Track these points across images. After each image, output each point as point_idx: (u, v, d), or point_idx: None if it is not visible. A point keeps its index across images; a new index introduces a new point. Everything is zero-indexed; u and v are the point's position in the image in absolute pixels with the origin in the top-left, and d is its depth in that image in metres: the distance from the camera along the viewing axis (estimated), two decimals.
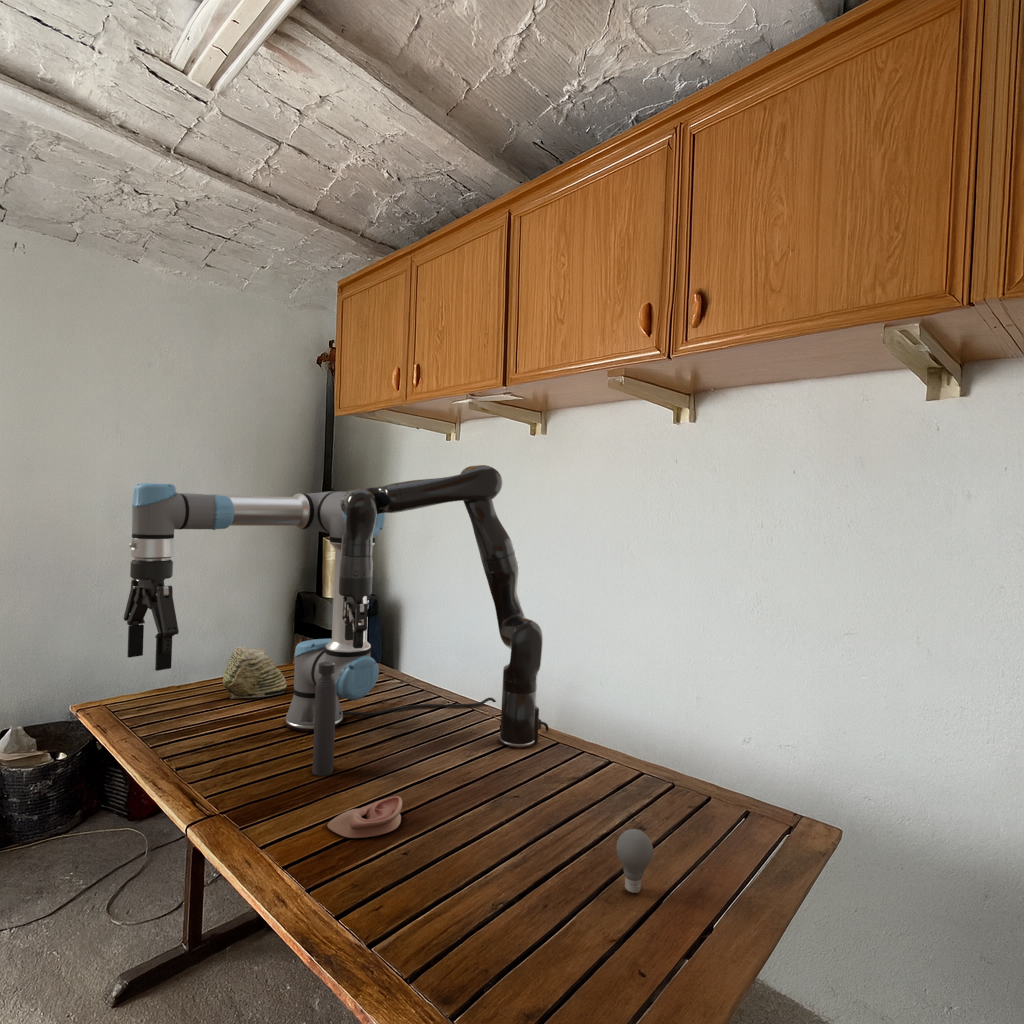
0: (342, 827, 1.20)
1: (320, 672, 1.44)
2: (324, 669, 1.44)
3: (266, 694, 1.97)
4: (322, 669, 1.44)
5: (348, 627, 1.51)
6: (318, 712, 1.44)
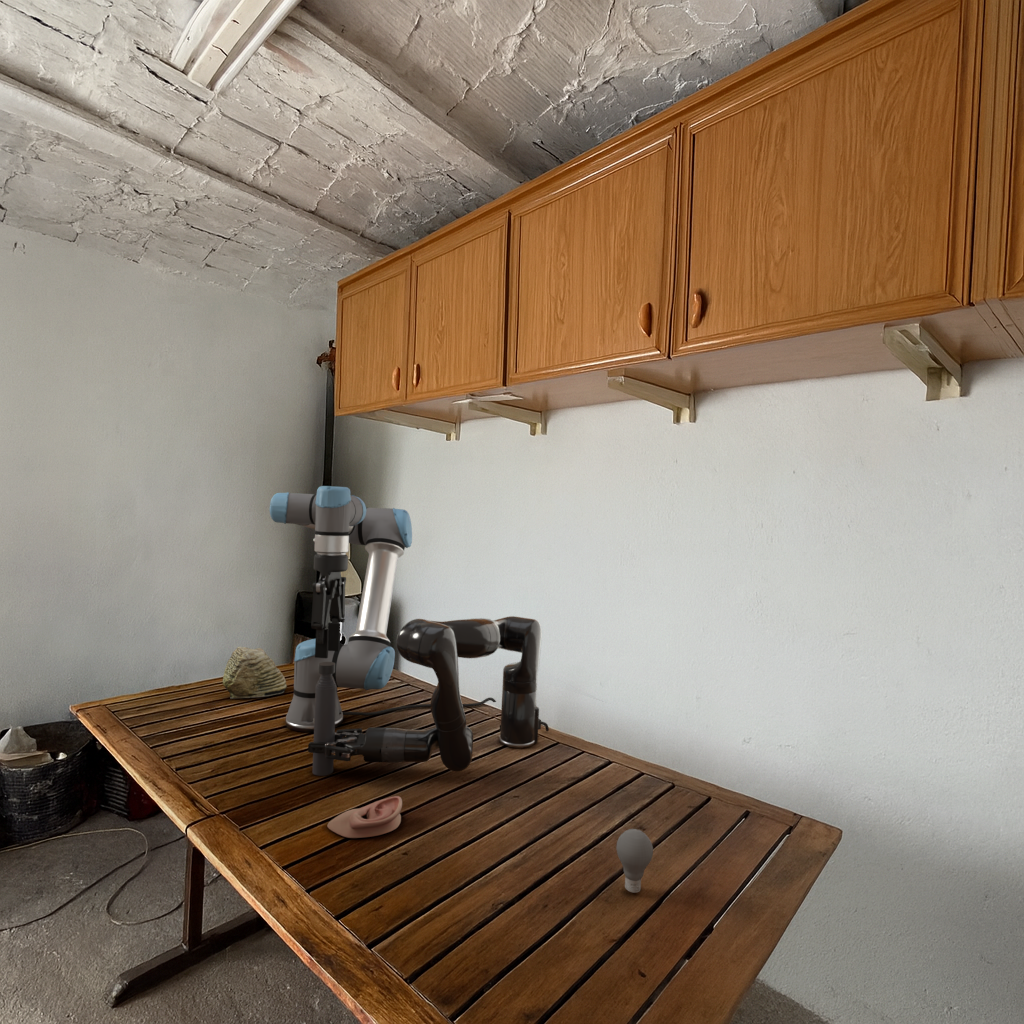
0: (342, 827, 1.20)
1: (320, 672, 1.44)
2: (324, 669, 1.44)
3: (266, 694, 1.97)
4: (322, 669, 1.44)
5: None
6: (318, 712, 1.44)
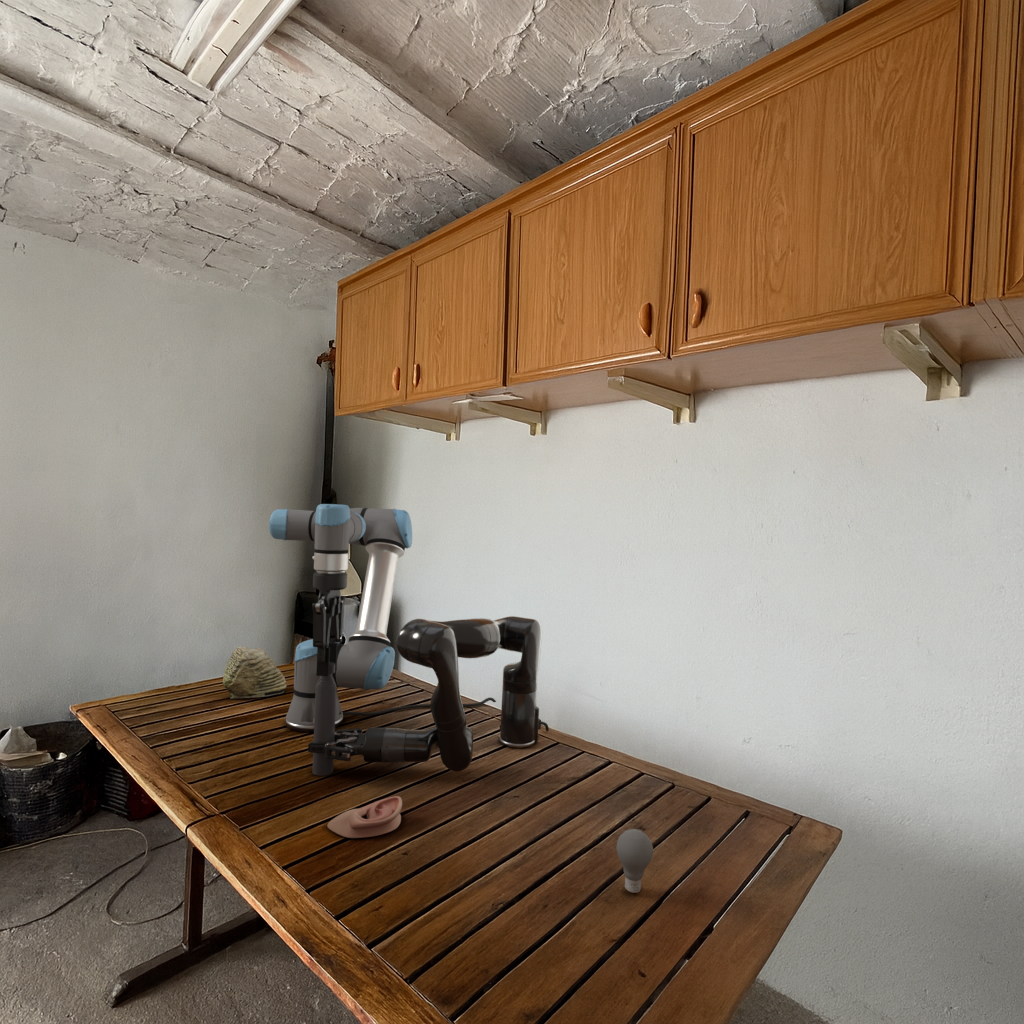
0: (342, 827, 1.20)
1: None
2: None
3: (266, 694, 1.97)
4: None
5: None
6: (318, 712, 1.44)
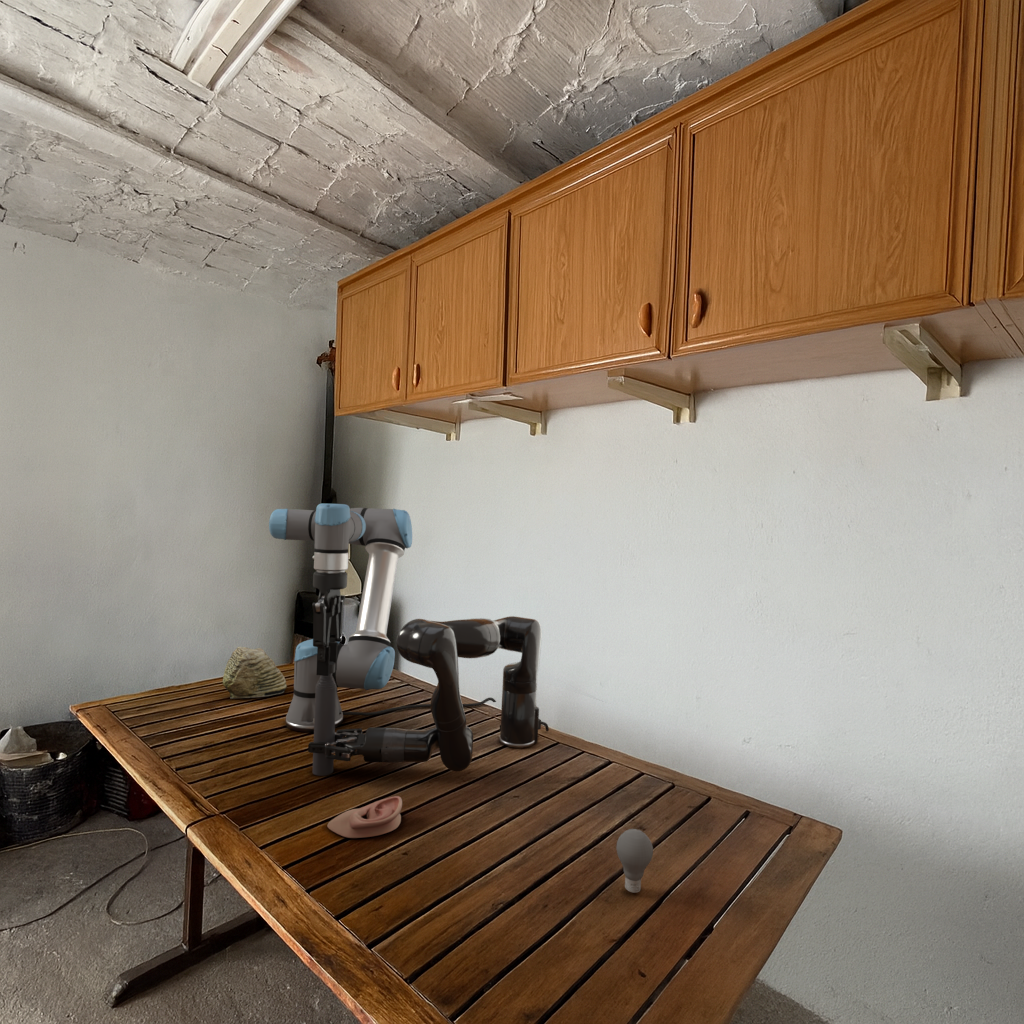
0: (342, 827, 1.20)
1: (333, 671, 1.45)
2: None
3: (266, 694, 1.97)
4: (334, 667, 1.46)
5: None
6: (318, 712, 1.44)
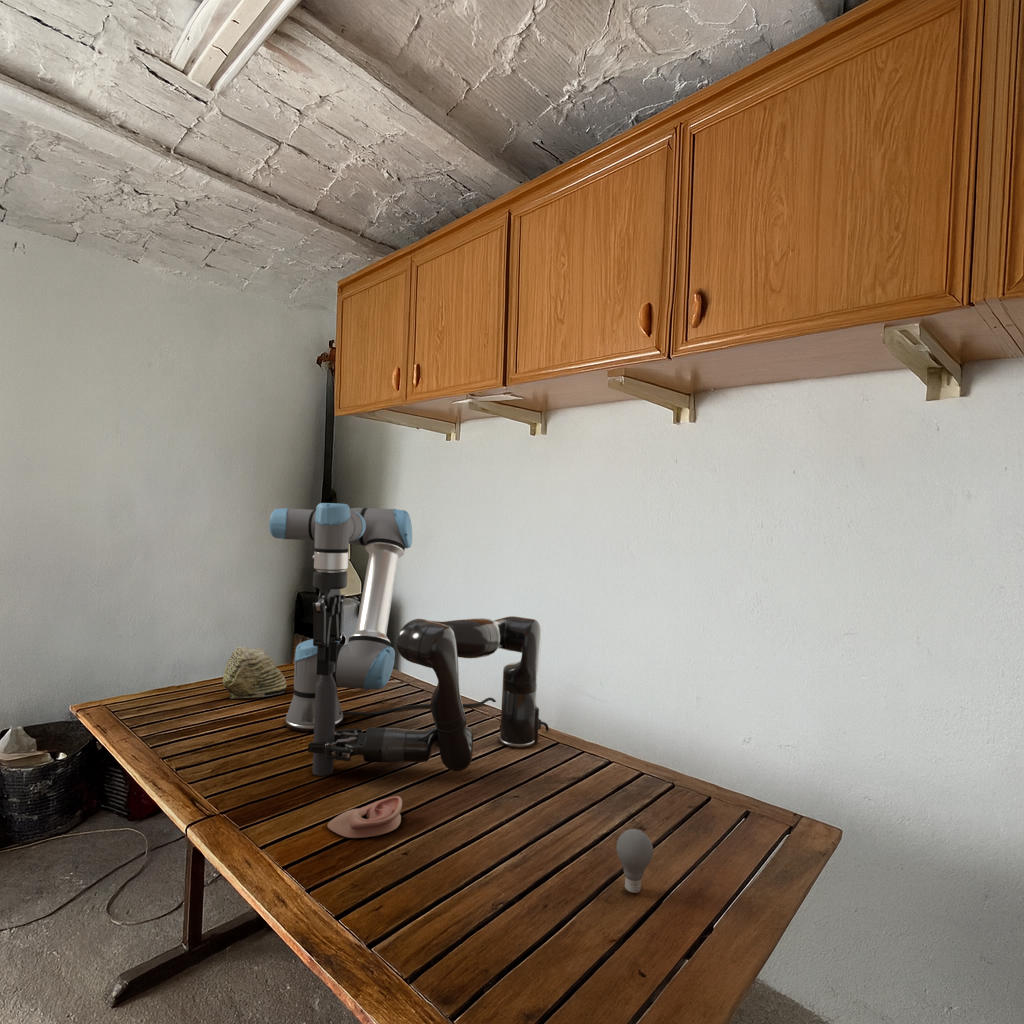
0: (342, 827, 1.20)
1: None
2: None
3: (266, 694, 1.97)
4: None
5: None
6: (318, 712, 1.44)
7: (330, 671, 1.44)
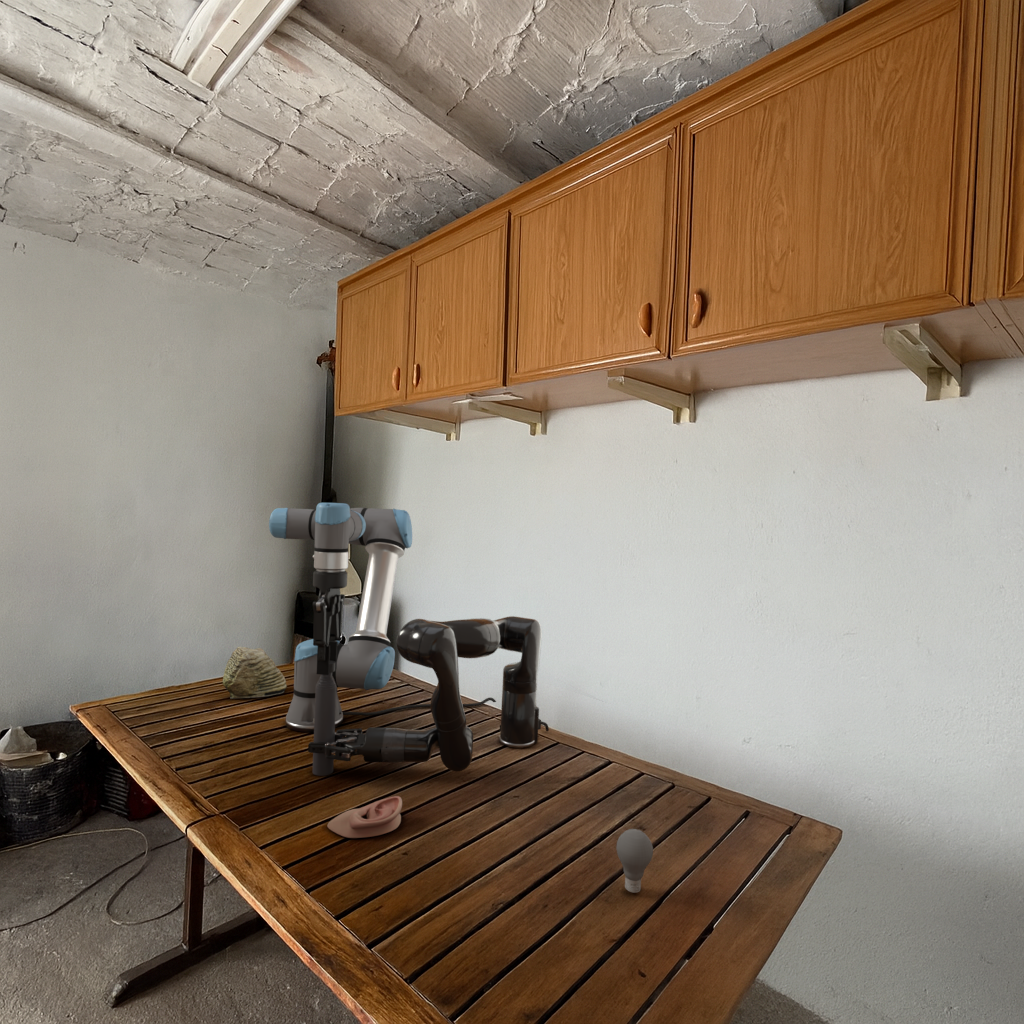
0: (342, 827, 1.20)
1: None
2: None
3: (266, 694, 1.97)
4: None
5: None
6: (318, 712, 1.44)
7: None
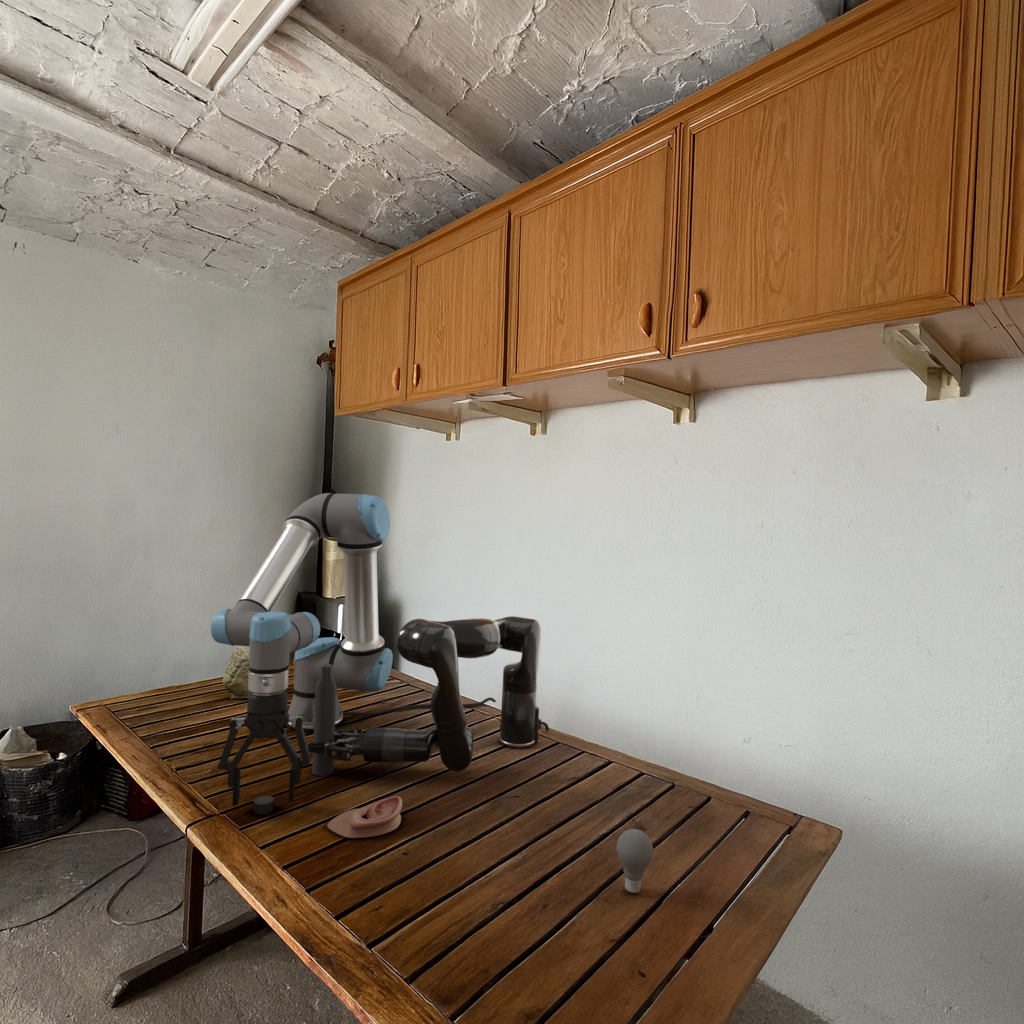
0: (342, 827, 1.20)
1: (266, 811, 1.26)
2: (271, 805, 1.27)
3: None
4: (269, 807, 1.26)
5: None
6: (318, 712, 1.44)
7: None
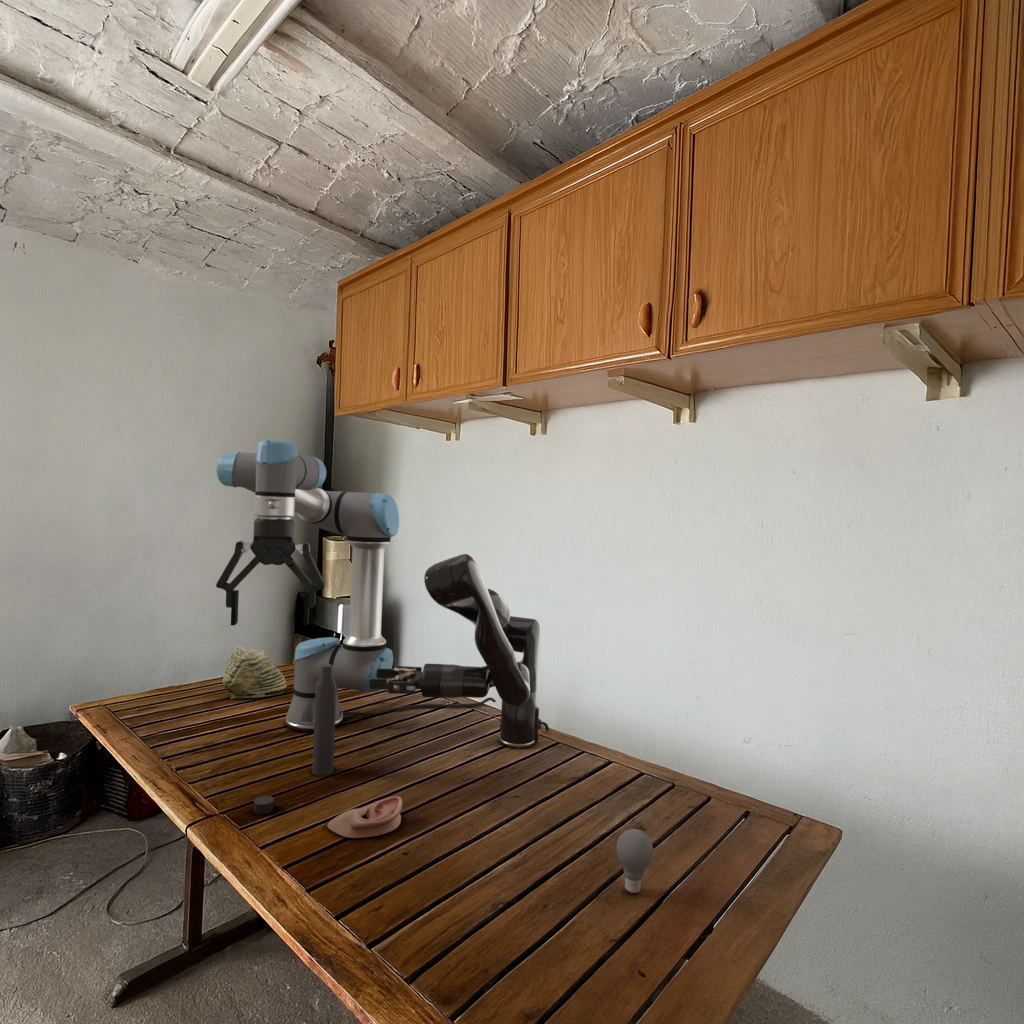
0: (342, 827, 1.20)
1: (266, 811, 1.26)
2: (271, 805, 1.27)
3: (266, 694, 1.97)
4: (269, 807, 1.26)
5: None
6: (318, 712, 1.44)
7: None
